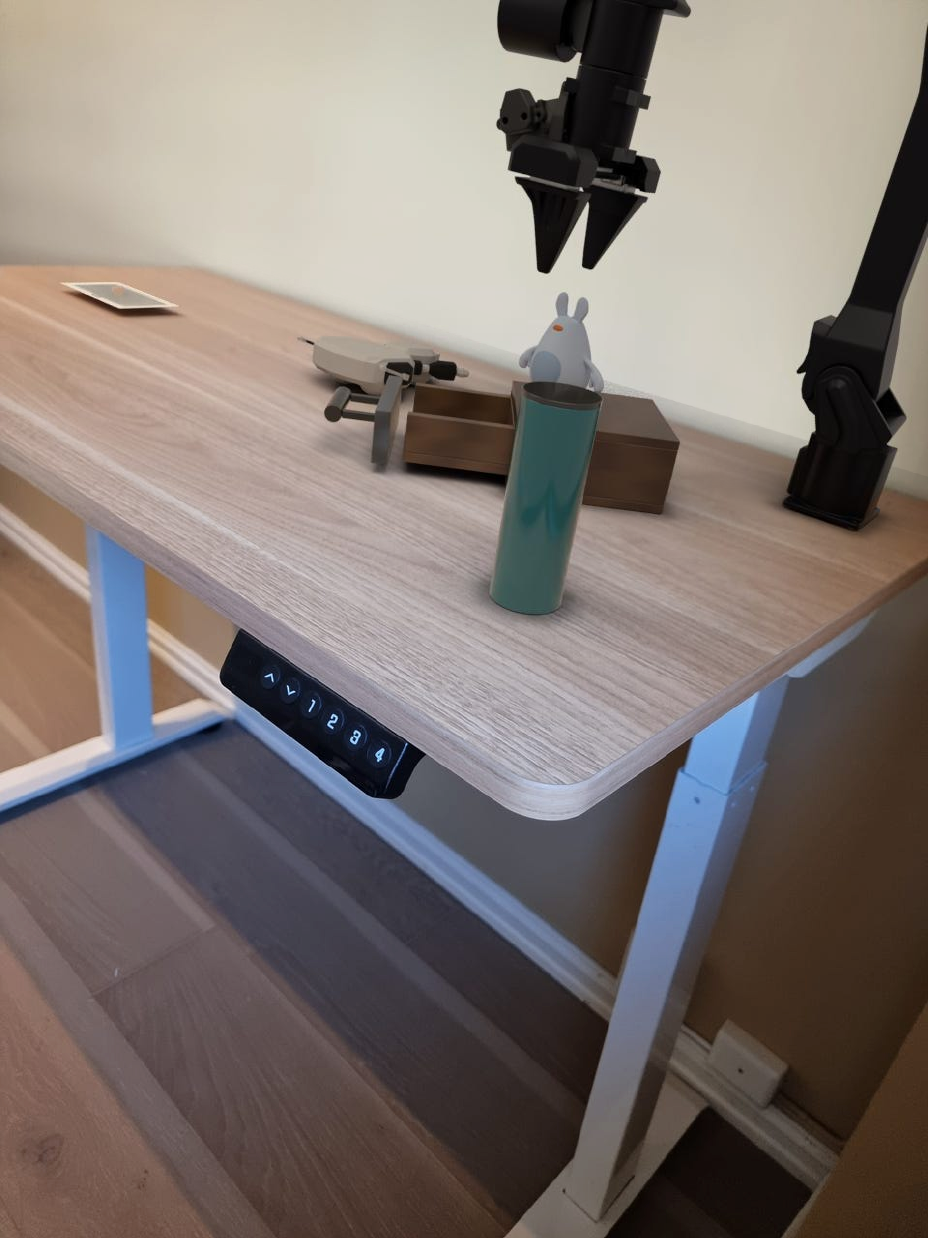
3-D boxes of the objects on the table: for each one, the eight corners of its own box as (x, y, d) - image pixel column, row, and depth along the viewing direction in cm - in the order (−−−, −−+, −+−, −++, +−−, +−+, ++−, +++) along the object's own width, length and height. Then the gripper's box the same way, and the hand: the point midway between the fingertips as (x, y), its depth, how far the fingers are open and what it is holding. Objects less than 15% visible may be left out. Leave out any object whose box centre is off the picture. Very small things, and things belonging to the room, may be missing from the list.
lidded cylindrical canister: (574, 600, 54) (618, 398, 48) (533, 622, 51) (574, 408, 45) (517, 574, 56) (551, 377, 50) (474, 593, 53) (506, 386, 47)
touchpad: (119, 290, 118) (118, 273, 117) (179, 315, 110) (179, 297, 108) (60, 291, 113) (59, 273, 112) (119, 317, 104) (118, 298, 103)
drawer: (316, 455, 68) (319, 402, 66) (337, 416, 78) (340, 368, 76) (516, 482, 69) (524, 429, 67) (511, 439, 79) (519, 392, 77)
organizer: (505, 493, 69) (517, 419, 66) (502, 445, 80) (512, 380, 77) (662, 514, 70) (680, 441, 67) (637, 463, 80) (652, 399, 78)
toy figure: (493, 406, 91) (511, 283, 86) (531, 400, 95) (550, 283, 90) (574, 436, 85) (600, 307, 80) (611, 428, 90) (637, 305, 84)
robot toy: (391, 372, 101) (288, 374, 90) (397, 331, 100) (292, 329, 89) (472, 401, 95) (371, 407, 84) (480, 358, 93) (378, 359, 82)
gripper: (575, 70, 83) (536, 246, 91) (472, 37, 69) (437, 250, 76) (684, 92, 79) (634, 274, 87) (599, 62, 64) (549, 284, 72)
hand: (566, 270), depth 81 cm, fingers open, 9 cm apart
